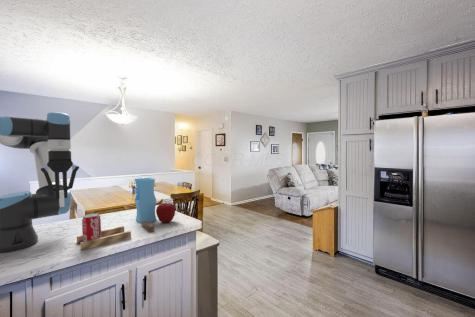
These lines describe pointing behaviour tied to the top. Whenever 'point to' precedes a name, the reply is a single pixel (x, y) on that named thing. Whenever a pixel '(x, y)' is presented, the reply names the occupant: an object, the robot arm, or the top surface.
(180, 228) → the top surface
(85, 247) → the chute
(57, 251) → the top surface
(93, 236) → the soda can
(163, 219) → the apple
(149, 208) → the light blue storage bin
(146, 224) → the block
